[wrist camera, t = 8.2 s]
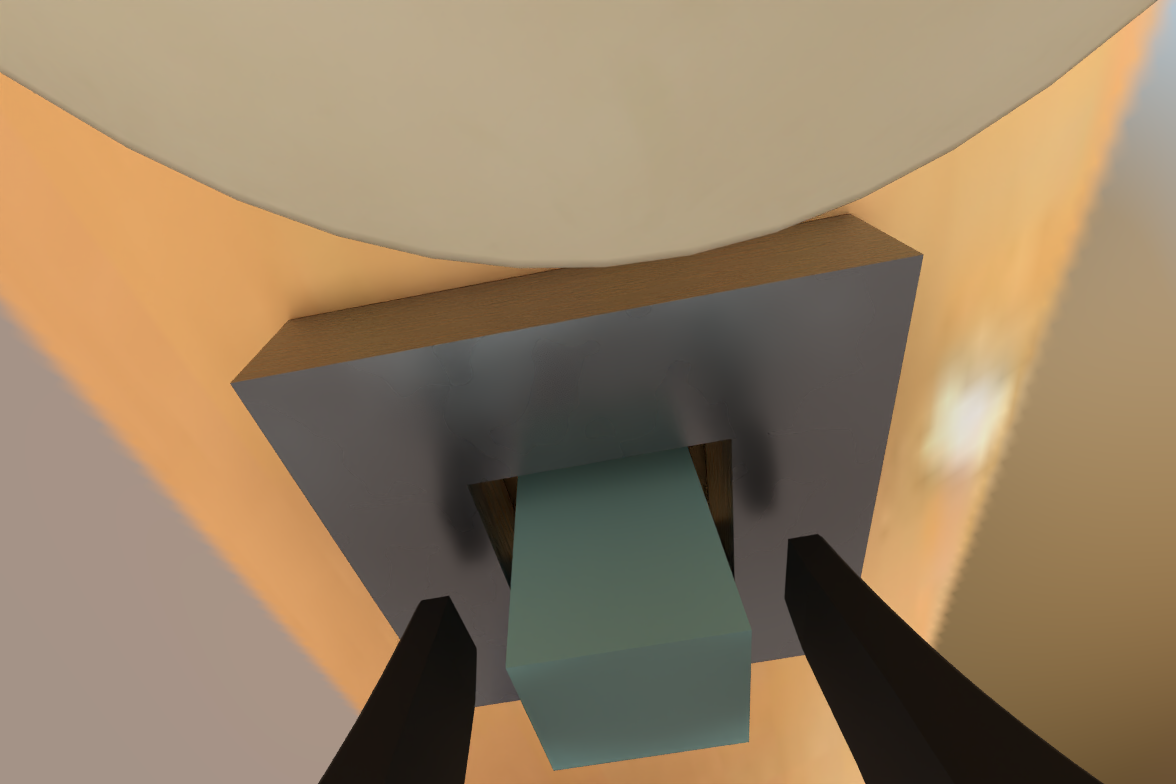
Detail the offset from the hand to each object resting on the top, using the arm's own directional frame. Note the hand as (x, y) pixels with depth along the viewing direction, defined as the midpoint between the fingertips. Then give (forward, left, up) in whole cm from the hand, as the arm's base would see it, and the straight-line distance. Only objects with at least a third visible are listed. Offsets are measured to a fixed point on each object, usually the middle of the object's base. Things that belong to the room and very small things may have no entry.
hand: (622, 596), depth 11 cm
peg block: (0, 0, -4) cm, 4 cm away
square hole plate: (0, 0, -4) cm, 4 cm away
